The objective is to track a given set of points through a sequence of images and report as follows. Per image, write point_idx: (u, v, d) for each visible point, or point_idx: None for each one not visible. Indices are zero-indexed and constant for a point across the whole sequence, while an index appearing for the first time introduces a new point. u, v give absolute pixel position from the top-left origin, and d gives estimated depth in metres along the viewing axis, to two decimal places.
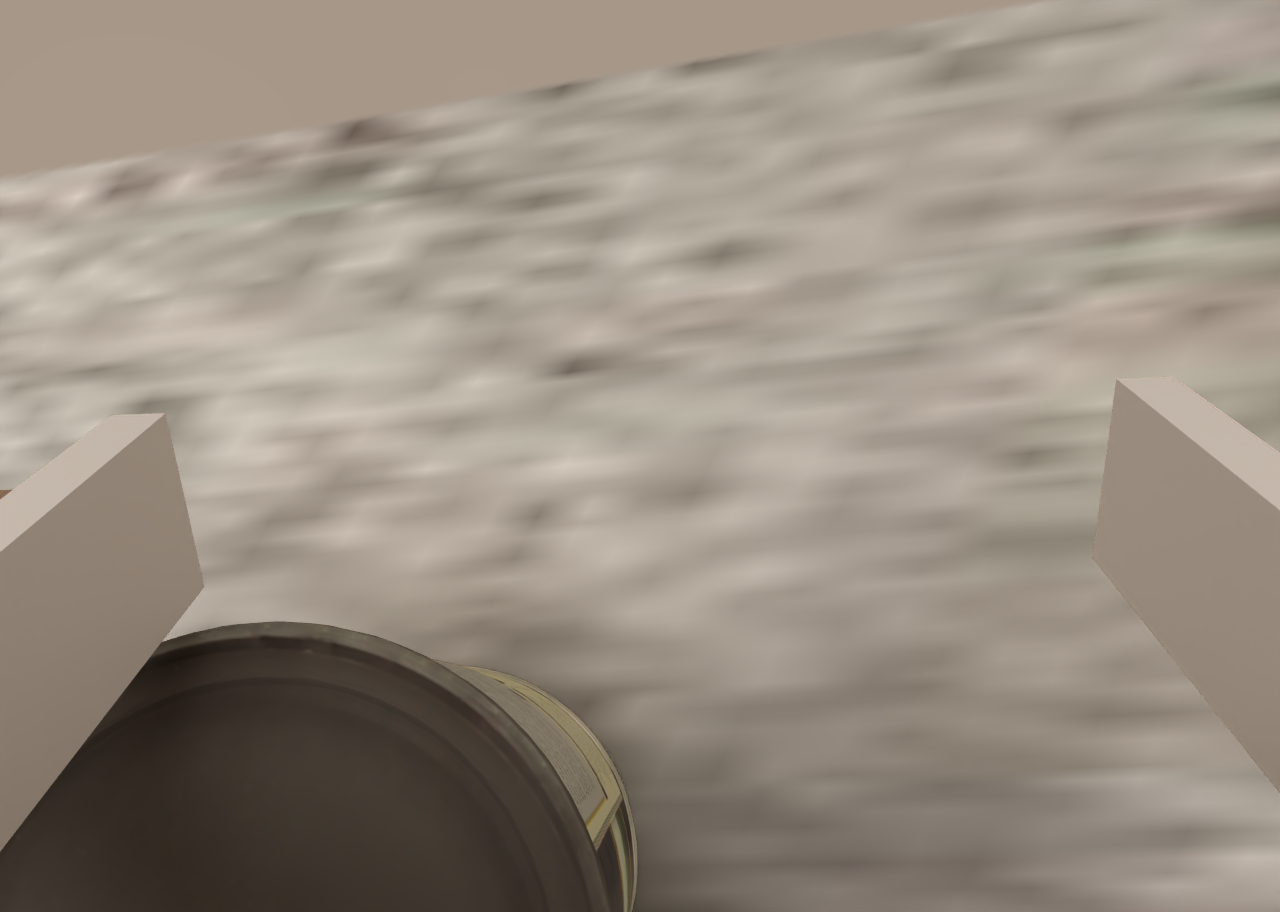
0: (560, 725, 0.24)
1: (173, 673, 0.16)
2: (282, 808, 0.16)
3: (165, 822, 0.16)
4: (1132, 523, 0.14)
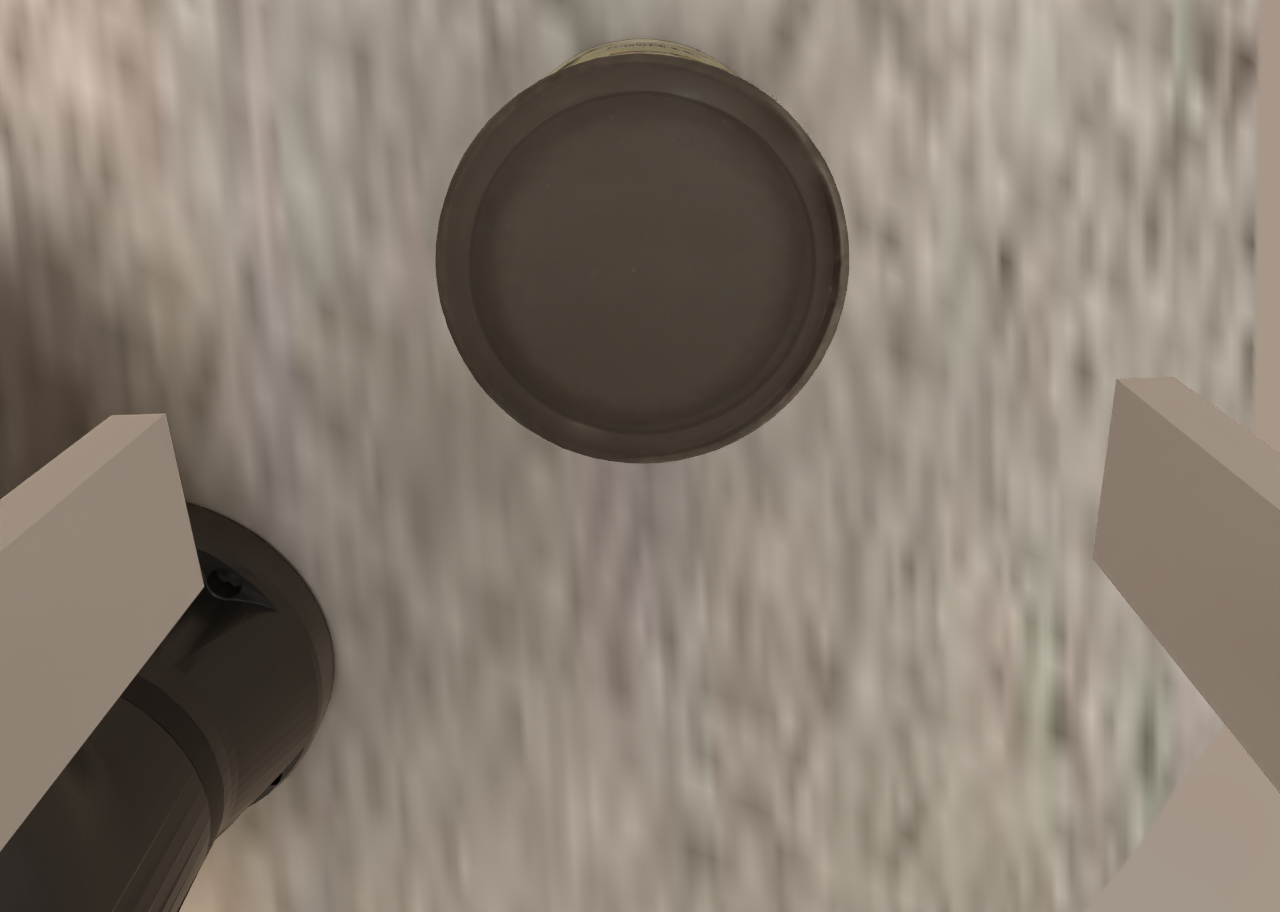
0: None
1: (820, 209, 0.26)
2: (741, 280, 0.27)
3: (733, 212, 0.26)
4: (1132, 523, 0.14)
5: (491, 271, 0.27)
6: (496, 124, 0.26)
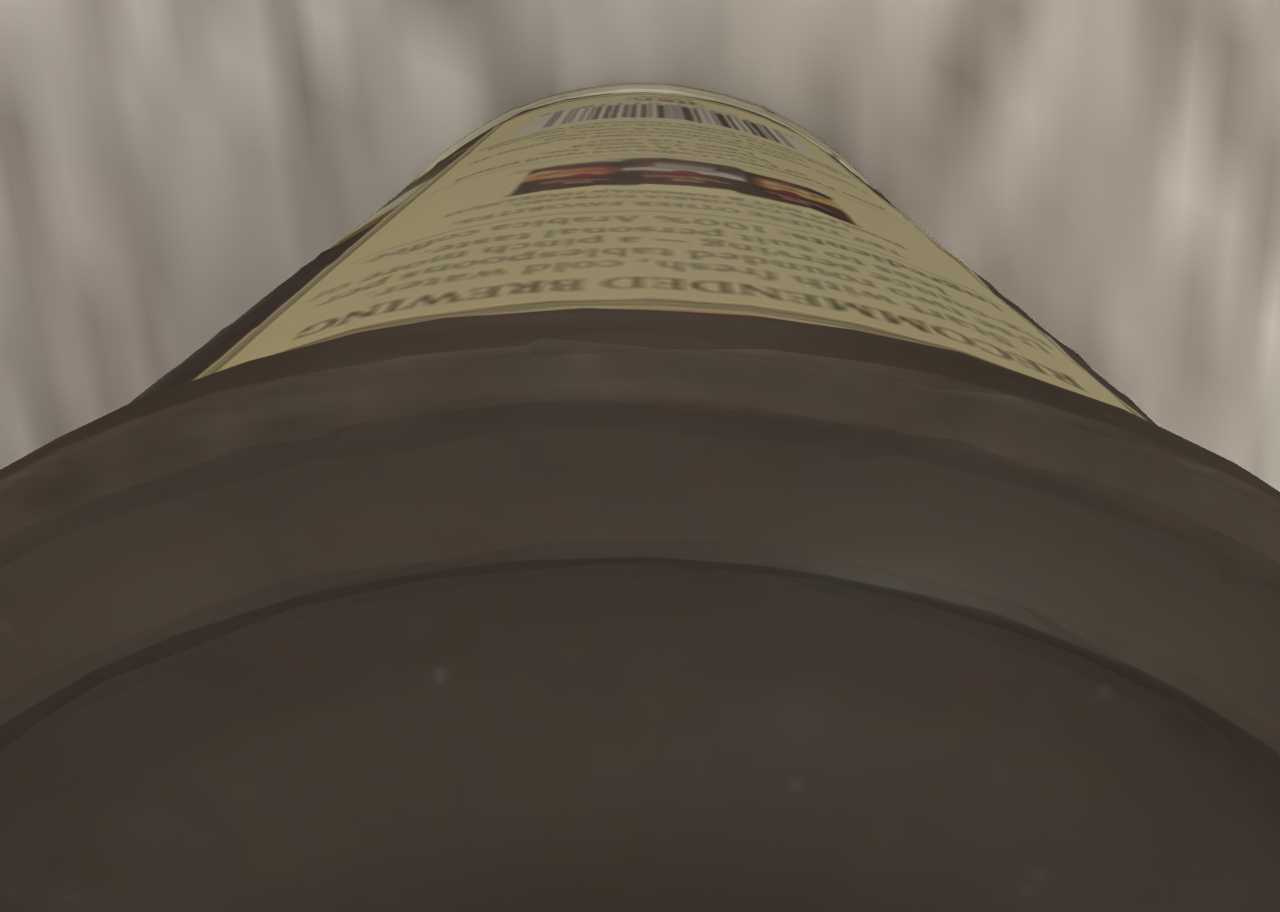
0: None
1: None
2: None
3: None
4: None
5: None
6: None
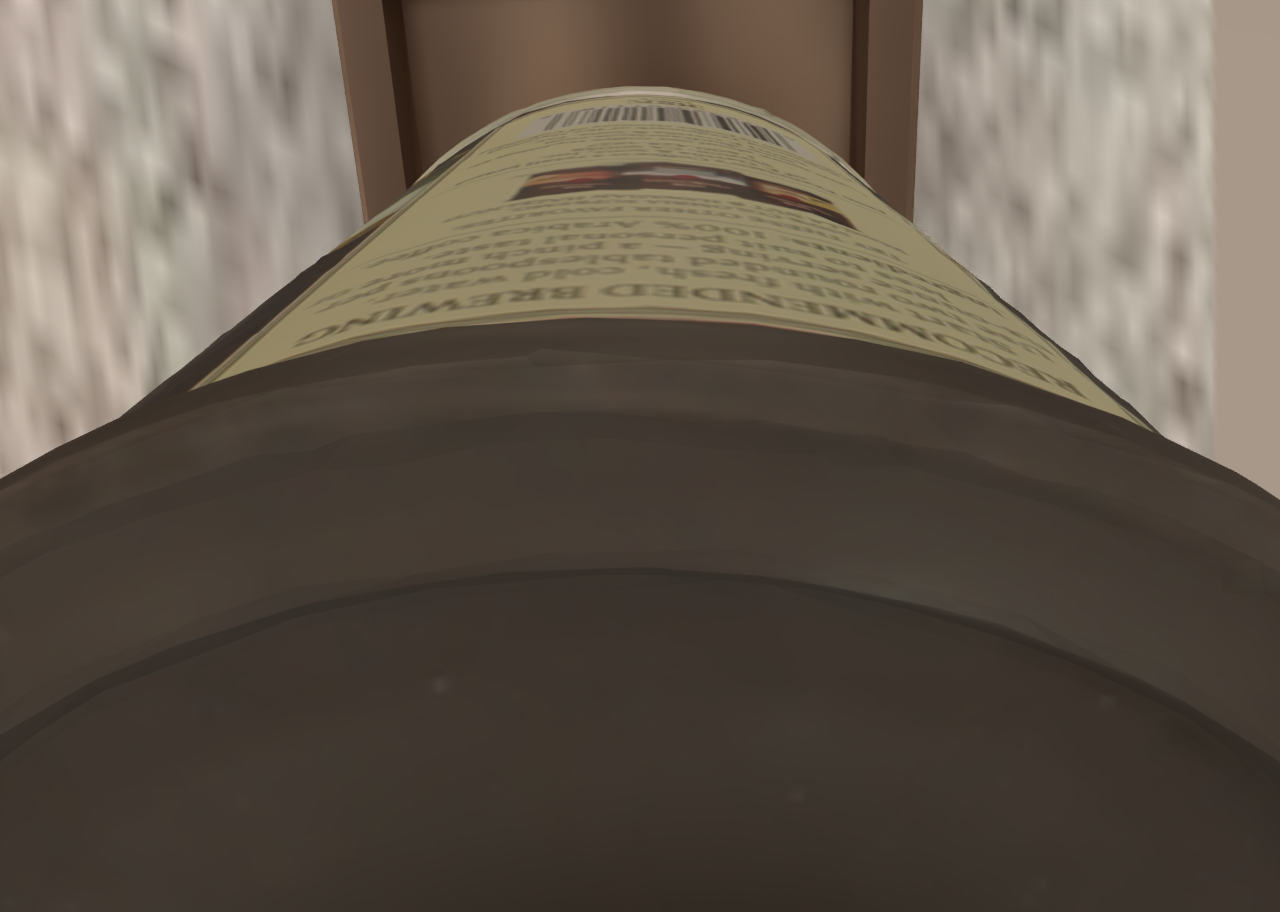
0: None
1: None
2: None
3: None
4: None
5: None
6: None
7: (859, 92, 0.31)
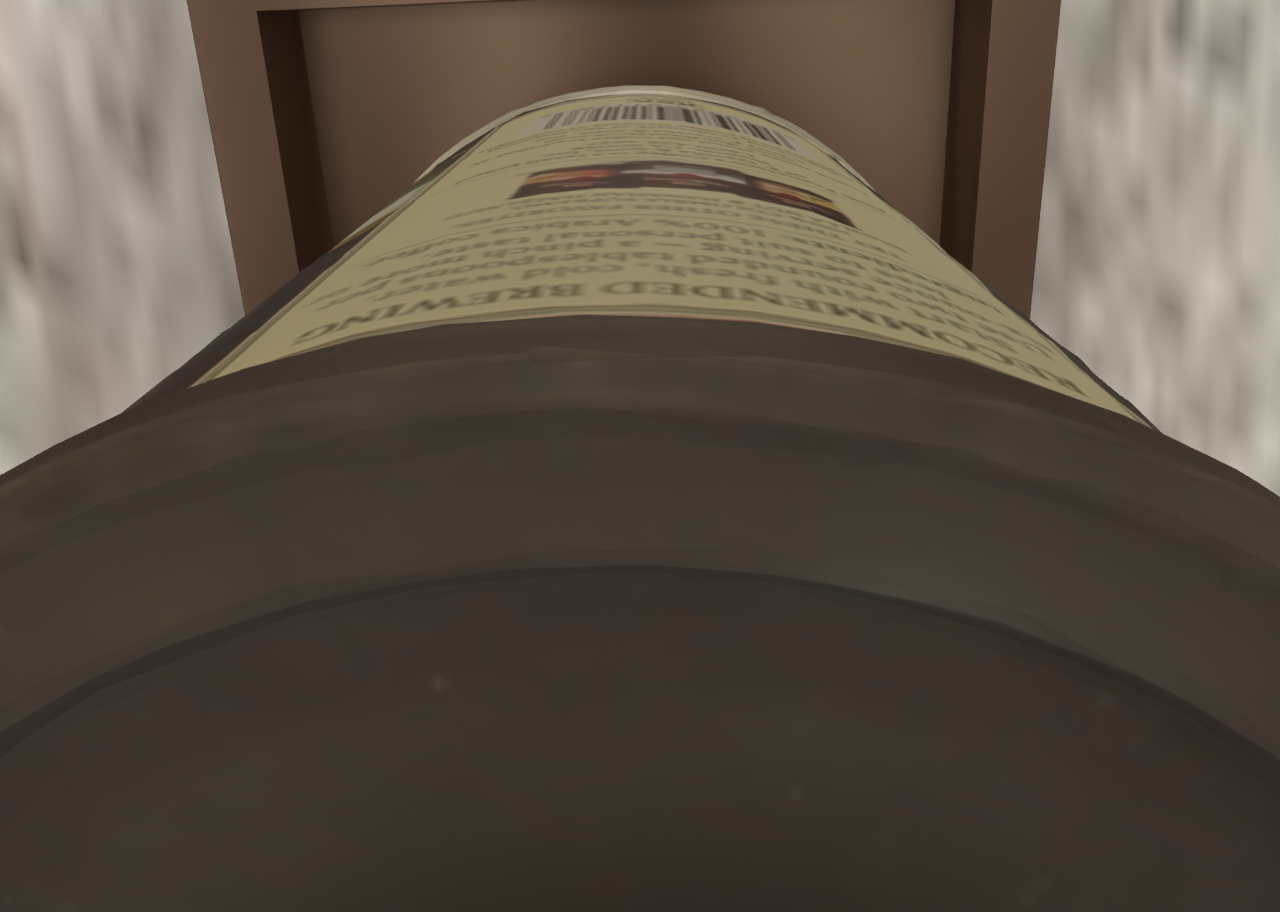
0: None
1: None
2: None
3: None
4: None
5: None
6: None
7: (963, 154, 0.21)
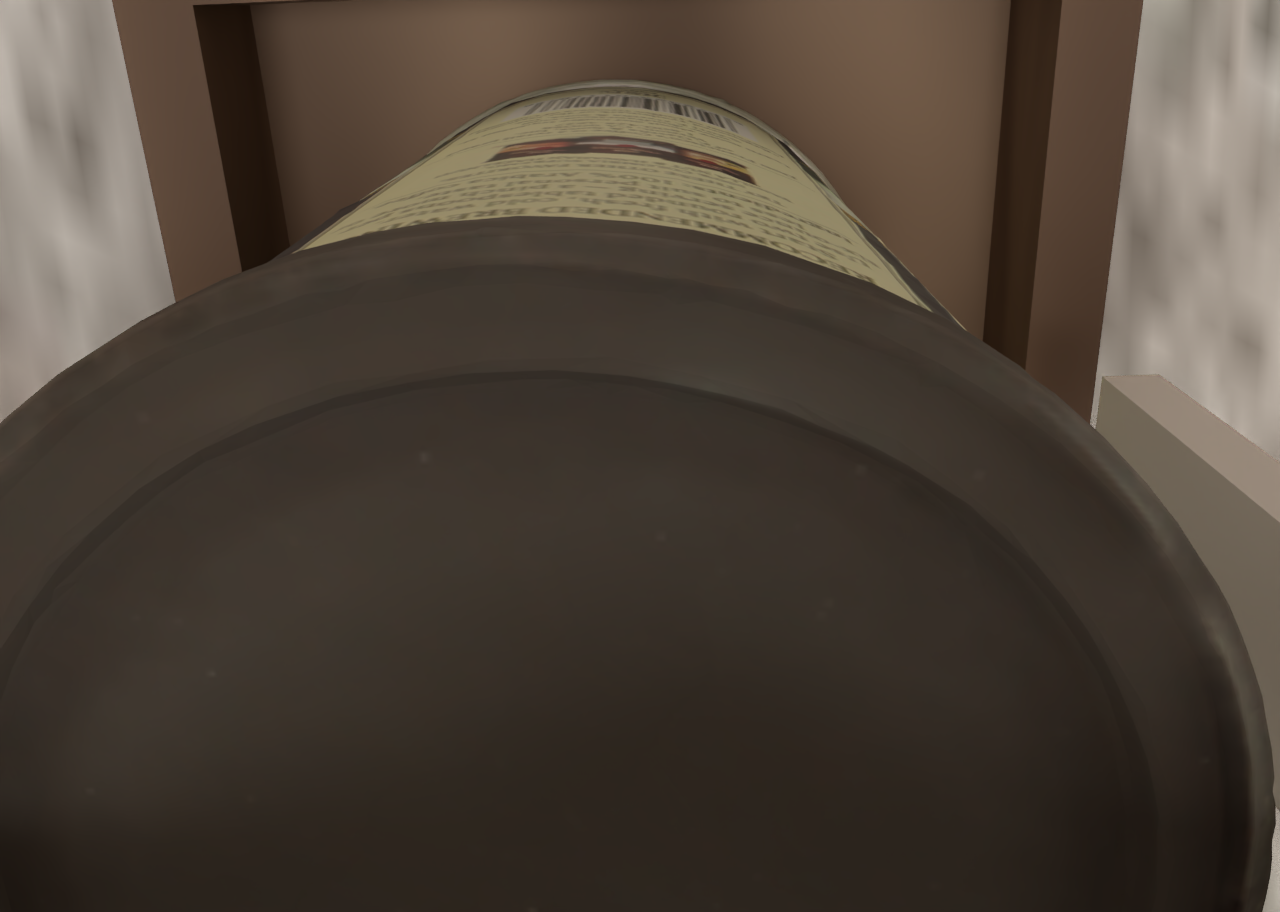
0: None
1: (1194, 756, 0.07)
2: None
3: (876, 758, 0.07)
4: None
5: (58, 909, 0.08)
6: None
7: (1021, 171, 0.18)
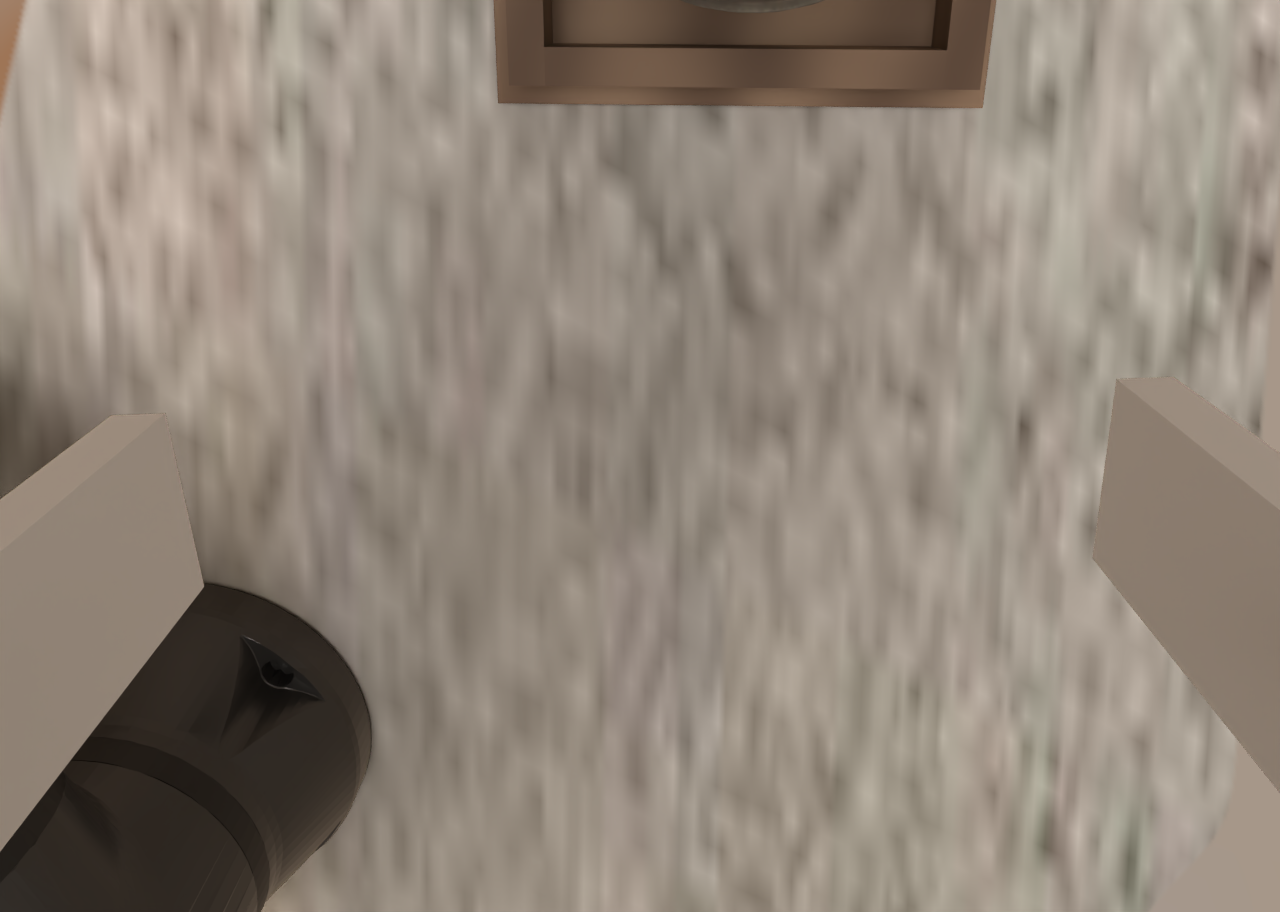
0: None
1: None
2: None
3: None
4: (1132, 523, 0.14)
5: None
6: None
7: None
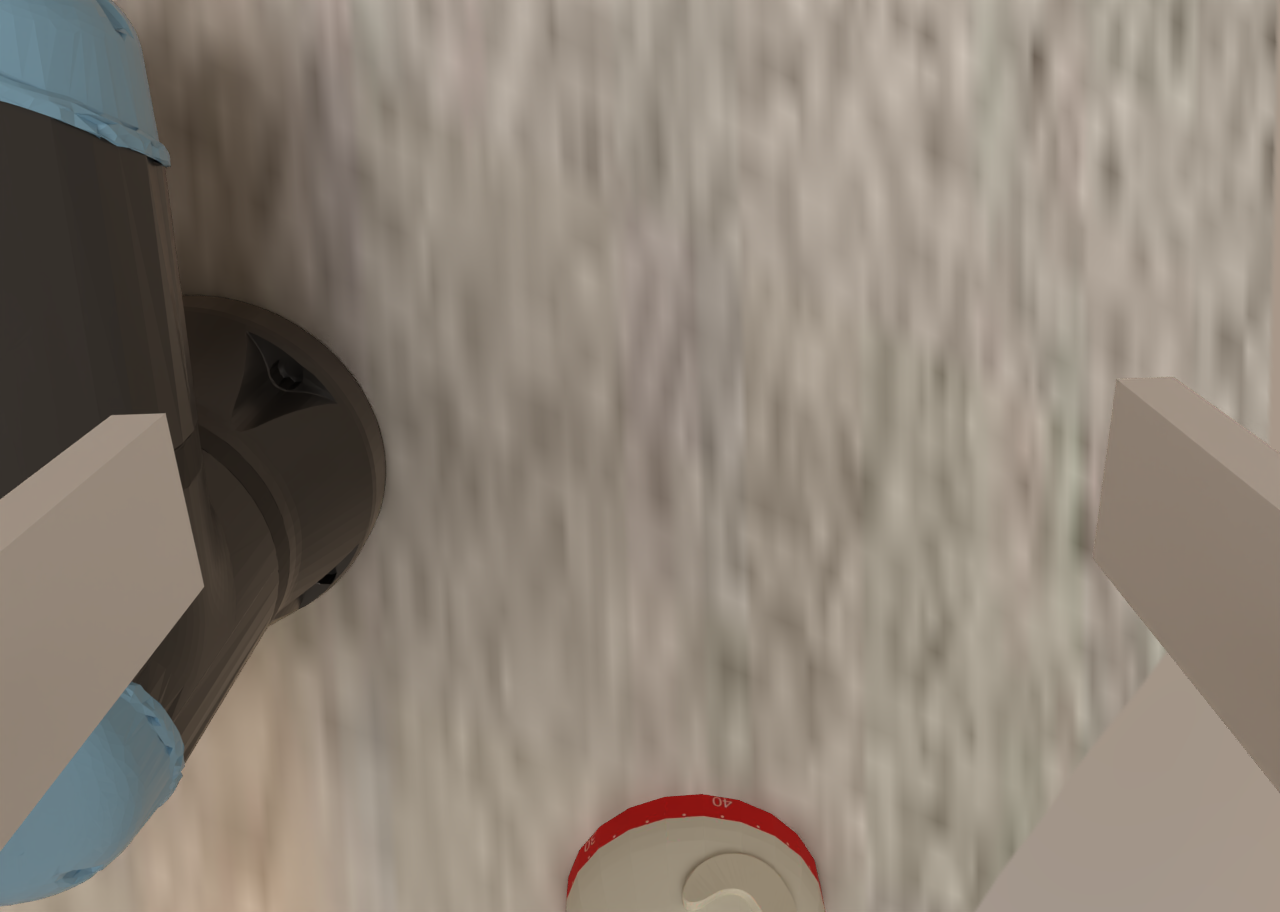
0: None
1: None
2: None
3: None
4: (1132, 523, 0.14)
5: None
6: None
7: None
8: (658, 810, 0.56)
